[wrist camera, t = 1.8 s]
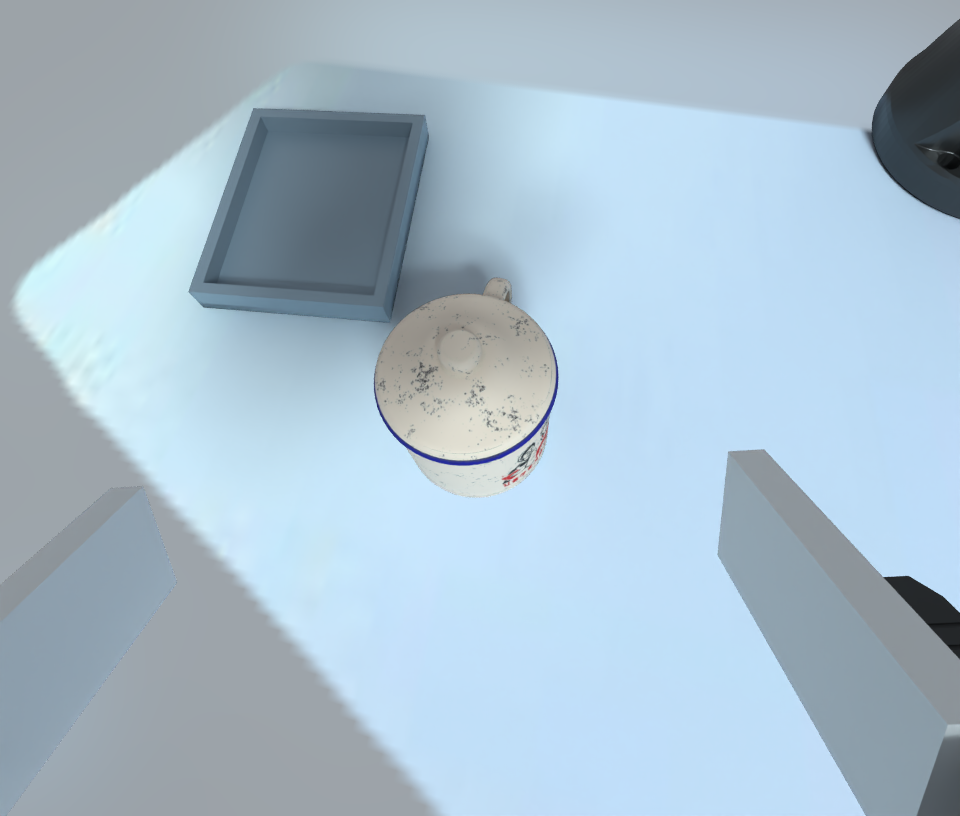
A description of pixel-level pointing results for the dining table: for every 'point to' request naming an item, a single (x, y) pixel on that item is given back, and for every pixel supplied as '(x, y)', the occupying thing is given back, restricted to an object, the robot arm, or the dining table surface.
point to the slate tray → (315, 215)
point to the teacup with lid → (469, 390)
